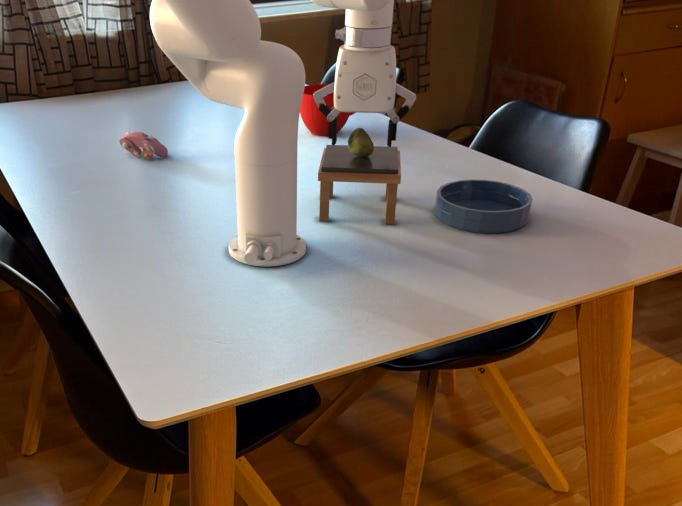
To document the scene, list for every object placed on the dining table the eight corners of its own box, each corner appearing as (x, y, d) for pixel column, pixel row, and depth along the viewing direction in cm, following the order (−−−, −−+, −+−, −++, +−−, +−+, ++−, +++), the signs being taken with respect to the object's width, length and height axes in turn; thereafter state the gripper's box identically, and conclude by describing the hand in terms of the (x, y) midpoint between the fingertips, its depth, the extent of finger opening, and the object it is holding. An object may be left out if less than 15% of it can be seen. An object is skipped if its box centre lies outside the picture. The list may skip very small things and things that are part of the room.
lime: (350, 151, 129) (352, 123, 127) (376, 154, 128) (378, 126, 125) (343, 159, 126) (344, 130, 123) (370, 162, 124) (372, 132, 122)
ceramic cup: (375, 135, 172) (378, 91, 167) (311, 143, 167) (312, 98, 162) (350, 121, 182) (352, 80, 177) (289, 129, 177) (289, 86, 172)
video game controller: (125, 161, 162) (112, 137, 156) (135, 147, 164) (123, 123, 158) (161, 168, 158) (150, 143, 152) (171, 153, 160) (160, 128, 154)
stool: (396, 225, 126) (401, 170, 120) (316, 222, 127) (318, 167, 122) (395, 197, 137) (400, 146, 132) (322, 194, 139) (324, 143, 134)
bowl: (535, 236, 121) (539, 214, 119) (437, 232, 123) (440, 210, 121) (520, 201, 135) (524, 181, 133) (432, 198, 137) (434, 177, 134)
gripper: (312, 41, 114) (310, 148, 124) (422, 42, 112) (412, 151, 122) (316, 33, 121) (314, 136, 130) (421, 34, 119) (411, 139, 128)
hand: (361, 143), depth 126 cm, fingers open, 9 cm apart
